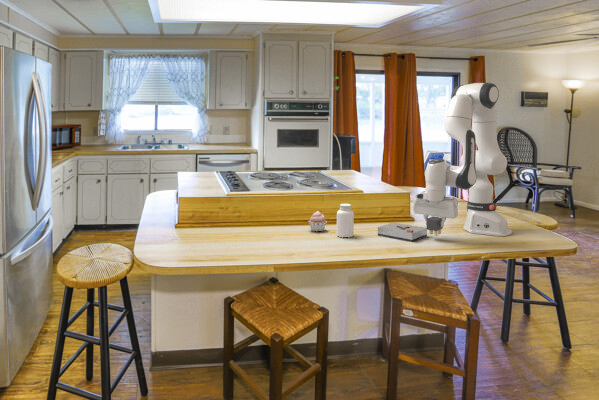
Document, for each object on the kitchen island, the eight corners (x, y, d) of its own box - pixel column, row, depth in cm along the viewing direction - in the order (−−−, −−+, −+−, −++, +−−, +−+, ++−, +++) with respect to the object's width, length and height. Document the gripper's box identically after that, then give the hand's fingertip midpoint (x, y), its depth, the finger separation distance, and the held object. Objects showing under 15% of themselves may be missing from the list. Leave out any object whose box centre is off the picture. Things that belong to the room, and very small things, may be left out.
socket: (426, 236, 227) (427, 226, 227) (411, 242, 217) (412, 232, 216) (393, 230, 239) (393, 221, 238) (377, 235, 229) (377, 225, 228)
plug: (442, 233, 222) (443, 217, 220) (436, 236, 217) (437, 220, 216) (432, 232, 225) (432, 216, 224) (426, 234, 220) (426, 218, 219)
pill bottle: (355, 234, 231) (355, 203, 228) (351, 238, 223) (351, 206, 220) (338, 233, 233) (339, 202, 231) (334, 237, 226) (334, 205, 223)
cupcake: (322, 228, 244) (323, 208, 242) (329, 232, 235) (330, 212, 234) (305, 229, 241) (305, 209, 239) (311, 233, 232) (311, 213, 231)
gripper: (460, 196, 213) (459, 227, 216) (418, 192, 227) (417, 221, 229) (454, 198, 209) (453, 230, 211) (411, 194, 222) (411, 223, 225)
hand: (434, 225), depth 220 cm, fingers closed on plug, 5 cm apart
